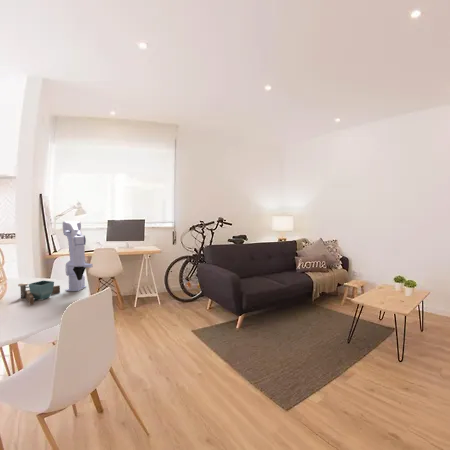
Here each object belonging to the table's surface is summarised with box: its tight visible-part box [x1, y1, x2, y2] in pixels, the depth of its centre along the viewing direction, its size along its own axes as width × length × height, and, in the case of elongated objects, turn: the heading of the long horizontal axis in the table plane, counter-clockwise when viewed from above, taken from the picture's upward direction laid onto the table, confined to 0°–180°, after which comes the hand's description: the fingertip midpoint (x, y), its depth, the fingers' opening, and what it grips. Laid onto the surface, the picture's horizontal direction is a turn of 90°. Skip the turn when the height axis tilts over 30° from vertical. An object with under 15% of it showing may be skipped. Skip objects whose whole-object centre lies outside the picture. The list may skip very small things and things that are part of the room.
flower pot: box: [28, 280, 55, 301], centre depth 152 cm, size 9×9×9 cm
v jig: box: [17, 282, 61, 306], centre depth 153 cm, size 23×16×8 cm
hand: (79, 279), depth 157 cm, fingers closed
